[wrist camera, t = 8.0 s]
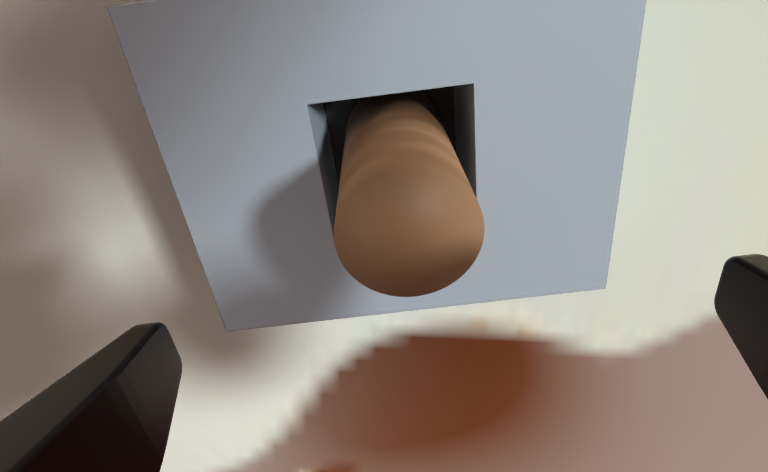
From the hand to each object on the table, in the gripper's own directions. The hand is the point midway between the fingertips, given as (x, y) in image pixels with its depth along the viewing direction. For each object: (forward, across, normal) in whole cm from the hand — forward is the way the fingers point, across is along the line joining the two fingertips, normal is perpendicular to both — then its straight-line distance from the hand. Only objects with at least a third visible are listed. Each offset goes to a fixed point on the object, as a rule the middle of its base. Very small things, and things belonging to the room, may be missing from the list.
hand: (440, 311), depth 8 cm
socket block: (+12, 0, +1) cm, 12 cm away
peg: (+12, 0, +1) cm, 12 cm away
